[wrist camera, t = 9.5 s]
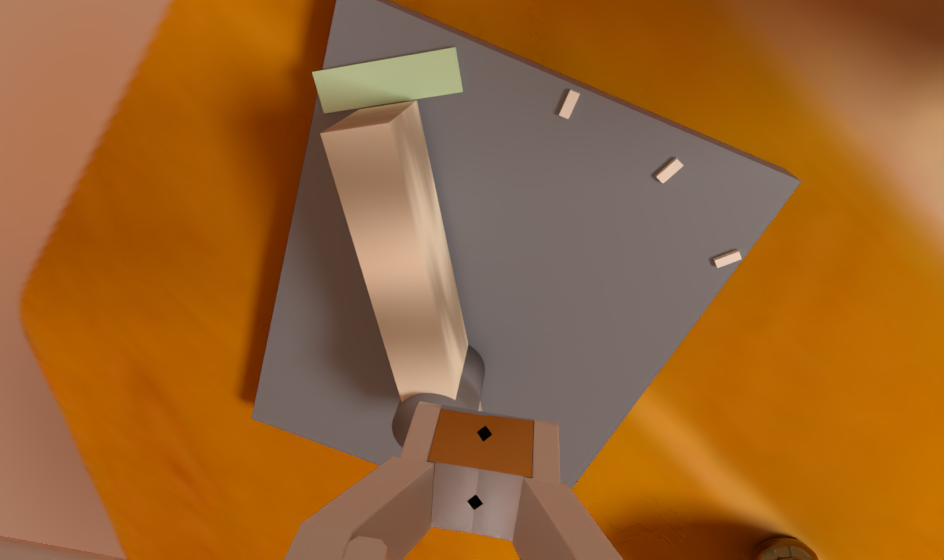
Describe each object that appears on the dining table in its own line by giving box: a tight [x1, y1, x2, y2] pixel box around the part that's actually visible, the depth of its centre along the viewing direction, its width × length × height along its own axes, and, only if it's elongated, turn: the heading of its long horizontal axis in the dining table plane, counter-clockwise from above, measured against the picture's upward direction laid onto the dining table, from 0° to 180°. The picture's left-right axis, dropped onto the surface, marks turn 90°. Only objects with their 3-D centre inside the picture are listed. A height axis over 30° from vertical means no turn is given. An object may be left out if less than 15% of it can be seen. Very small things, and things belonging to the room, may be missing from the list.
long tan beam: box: [320, 100, 485, 448], centre depth 22 cm, size 16×4×4 cm, turn 10°
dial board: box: [252, 0, 801, 489], centre depth 26 cm, size 24×19×2 cm
